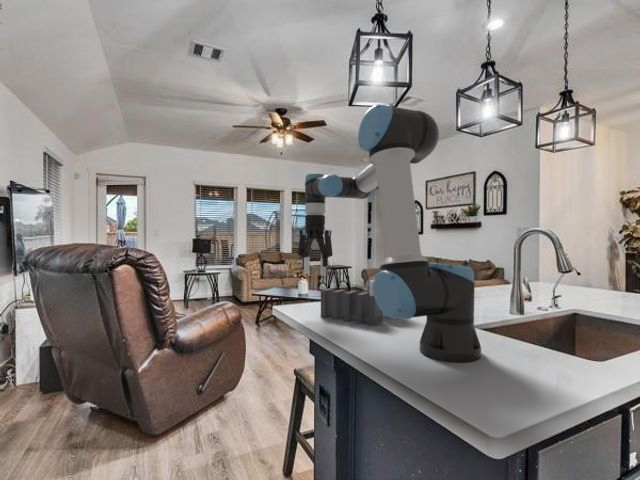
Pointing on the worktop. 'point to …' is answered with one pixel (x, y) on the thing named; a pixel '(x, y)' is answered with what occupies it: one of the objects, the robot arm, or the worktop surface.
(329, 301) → the domino
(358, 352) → the worktop surface
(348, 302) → the domino
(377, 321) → the domino
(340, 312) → the domino
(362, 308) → the domino
